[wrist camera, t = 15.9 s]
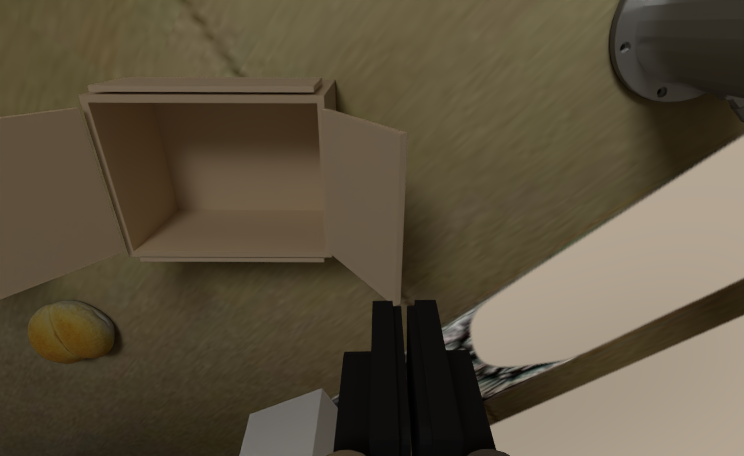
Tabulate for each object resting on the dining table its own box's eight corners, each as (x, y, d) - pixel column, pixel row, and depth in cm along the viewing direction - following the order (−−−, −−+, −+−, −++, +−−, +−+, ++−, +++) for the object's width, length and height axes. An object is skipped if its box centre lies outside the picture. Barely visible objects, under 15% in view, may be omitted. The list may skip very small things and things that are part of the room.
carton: (334, 72, 35) (323, 86, 27) (340, 218, 42) (332, 264, 34) (142, 72, 35) (75, 85, 27) (177, 217, 42) (131, 263, 34)
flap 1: (78, 108, 28) (-102, 131, 21) (124, 251, 33) (-11, 303, 27) (75, 107, 28) (-104, 130, 22) (121, 249, 33) (-13, 300, 27)
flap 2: (327, 108, 28) (407, 132, 22) (334, 250, 33) (400, 303, 27) (321, 109, 28) (400, 134, 21) (328, 252, 33) (394, 306, 26)
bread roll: (130, 343, 50) (112, 367, 46) (66, 355, 51) (43, 379, 47) (95, 290, 46) (72, 312, 43) (27, 304, 47) (-1, 327, 44)
